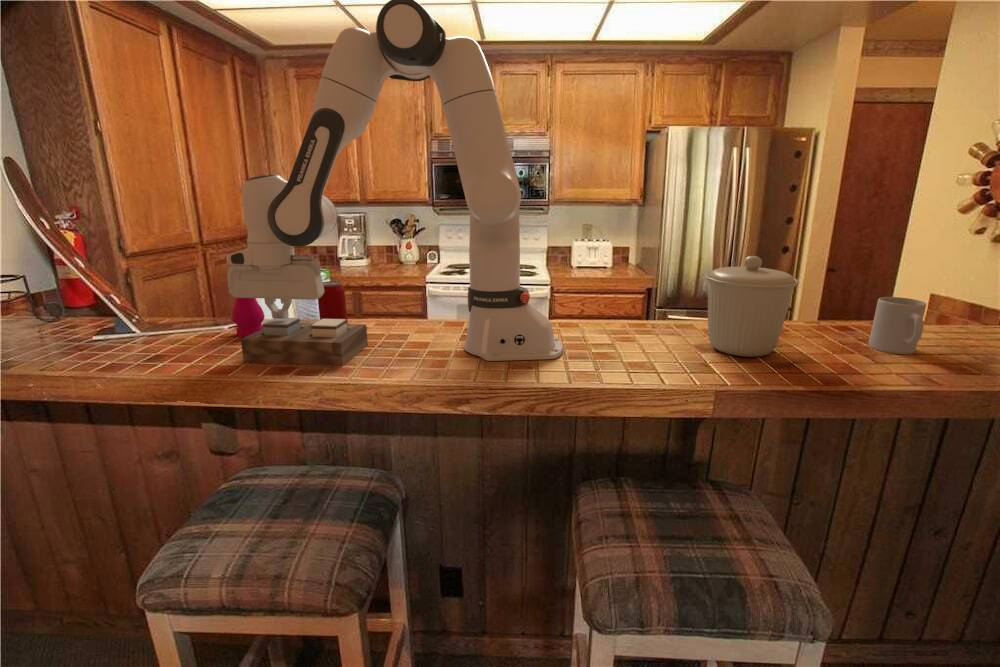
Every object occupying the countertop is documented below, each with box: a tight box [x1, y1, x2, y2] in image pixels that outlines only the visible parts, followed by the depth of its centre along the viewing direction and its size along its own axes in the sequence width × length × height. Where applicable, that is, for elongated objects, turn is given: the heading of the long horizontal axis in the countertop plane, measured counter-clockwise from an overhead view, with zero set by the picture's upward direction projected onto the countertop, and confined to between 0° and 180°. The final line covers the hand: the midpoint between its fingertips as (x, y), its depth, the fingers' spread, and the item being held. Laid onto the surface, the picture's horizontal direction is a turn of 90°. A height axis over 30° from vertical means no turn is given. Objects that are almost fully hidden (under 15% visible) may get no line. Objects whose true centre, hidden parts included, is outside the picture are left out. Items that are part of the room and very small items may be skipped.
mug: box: [868, 296, 927, 355], centre depth 110 cm, size 12×8×11 cm
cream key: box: [311, 319, 348, 338], centre depth 110 cm, size 6×6×5 cm
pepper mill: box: [227, 264, 265, 338], centre depth 124 cm, size 7×7×20 cm
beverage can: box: [317, 280, 349, 324], centre depth 130 cm, size 7×7×12 cm
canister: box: [704, 255, 800, 358], centre depth 109 cm, size 18×18×21 cm
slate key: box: [262, 317, 301, 336], centre depth 111 cm, size 6×6×5 cm
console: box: [240, 322, 369, 367], centre depth 111 cm, size 22×14×5 cm, turn 83°
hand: (280, 318), depth 110 cm, fingers closed
